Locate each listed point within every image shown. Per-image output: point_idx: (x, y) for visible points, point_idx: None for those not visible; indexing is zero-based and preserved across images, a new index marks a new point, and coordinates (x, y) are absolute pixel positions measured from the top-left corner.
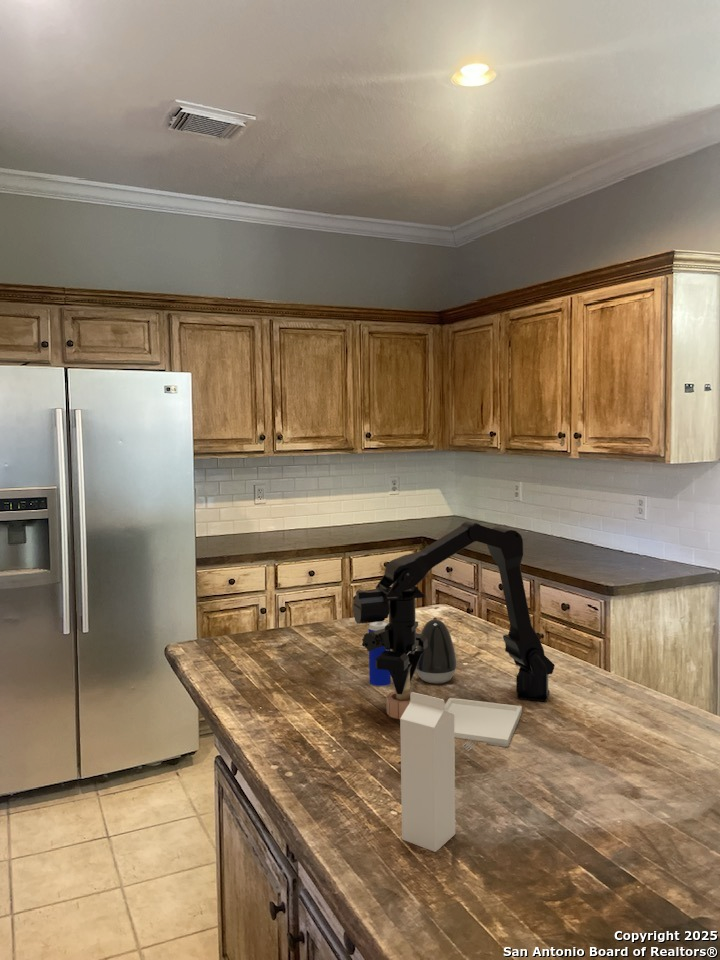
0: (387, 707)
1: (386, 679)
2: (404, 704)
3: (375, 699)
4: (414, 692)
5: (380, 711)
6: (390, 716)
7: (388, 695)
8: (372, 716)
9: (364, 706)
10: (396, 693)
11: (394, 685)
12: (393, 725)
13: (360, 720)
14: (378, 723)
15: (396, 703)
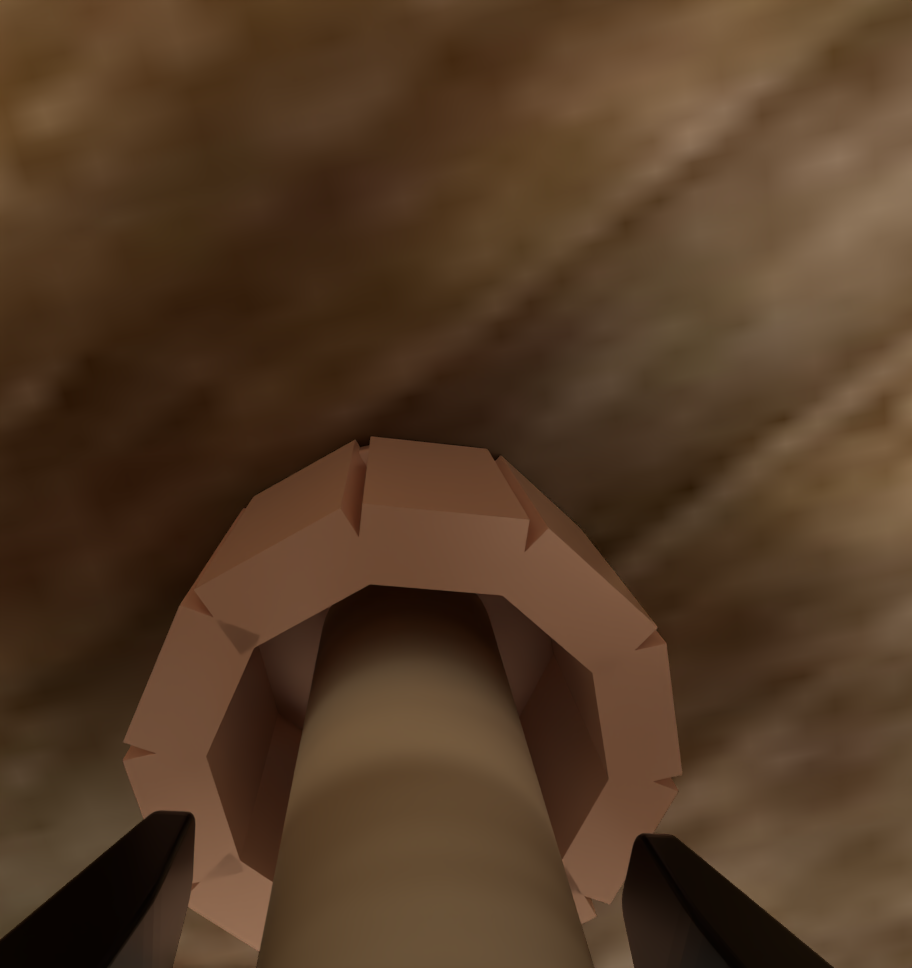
0: (305, 489)
1: None
2: None
3: (867, 167)
4: None
5: (456, 333)
6: (236, 522)
7: (413, 529)
8: (263, 262)
9: (595, 58)
10: (356, 715)
11: (2, 939)
12: (59, 587)
13: (74, 118)
14: (56, 395)
15: (134, 715)
